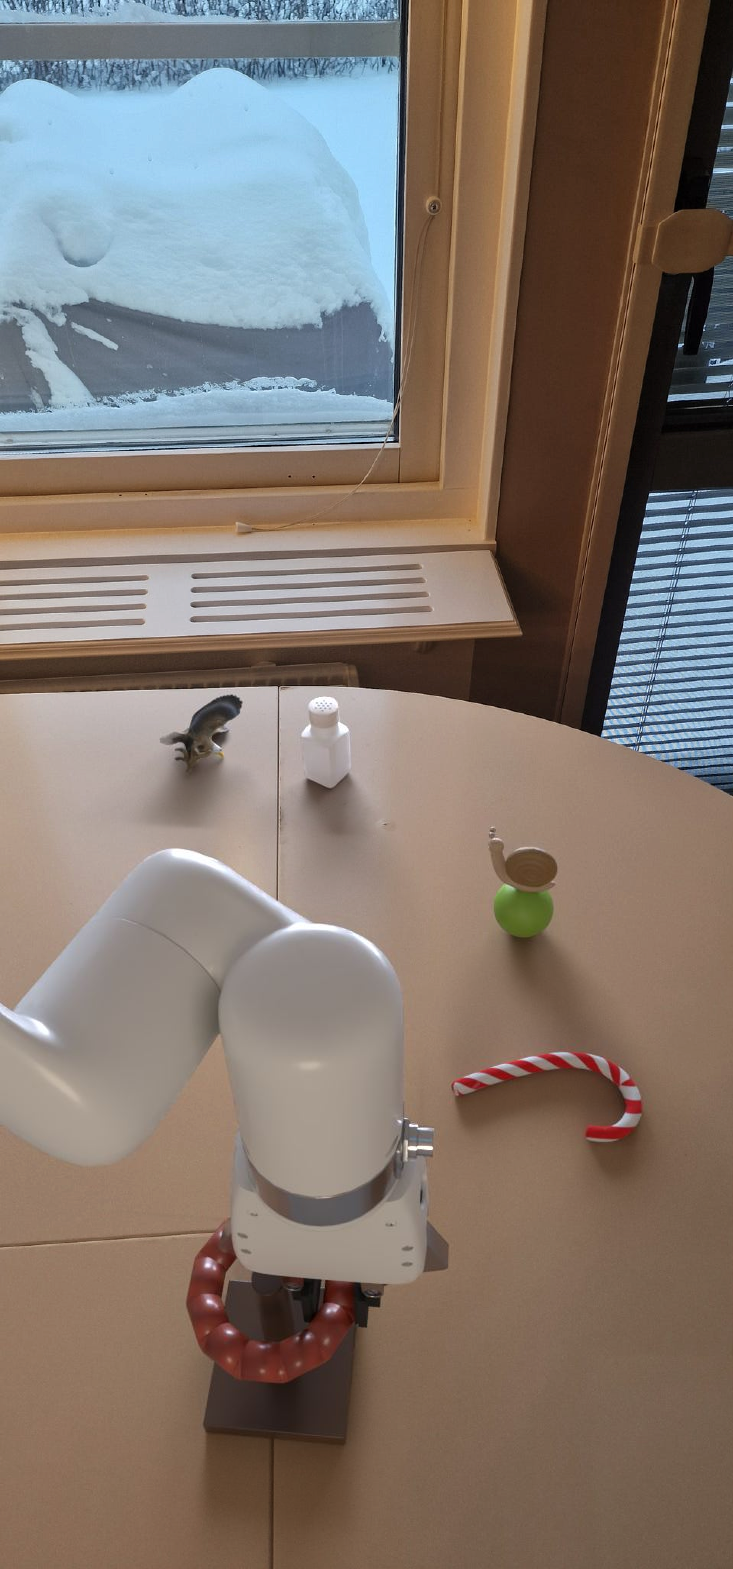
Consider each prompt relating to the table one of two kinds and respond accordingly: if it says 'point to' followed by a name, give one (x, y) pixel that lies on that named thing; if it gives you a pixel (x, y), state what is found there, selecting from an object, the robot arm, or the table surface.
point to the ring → (252, 1355)
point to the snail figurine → (523, 888)
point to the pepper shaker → (325, 744)
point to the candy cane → (565, 1061)
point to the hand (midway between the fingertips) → (338, 1297)
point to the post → (279, 1409)
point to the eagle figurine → (205, 729)
